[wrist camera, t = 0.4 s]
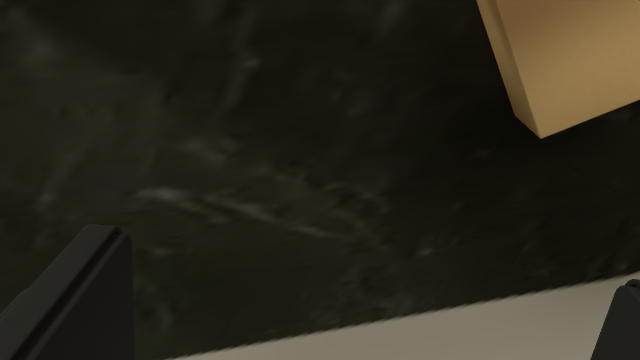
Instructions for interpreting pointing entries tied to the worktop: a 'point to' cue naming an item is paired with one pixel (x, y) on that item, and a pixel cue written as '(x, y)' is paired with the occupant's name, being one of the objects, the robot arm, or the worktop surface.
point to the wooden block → (565, 58)
